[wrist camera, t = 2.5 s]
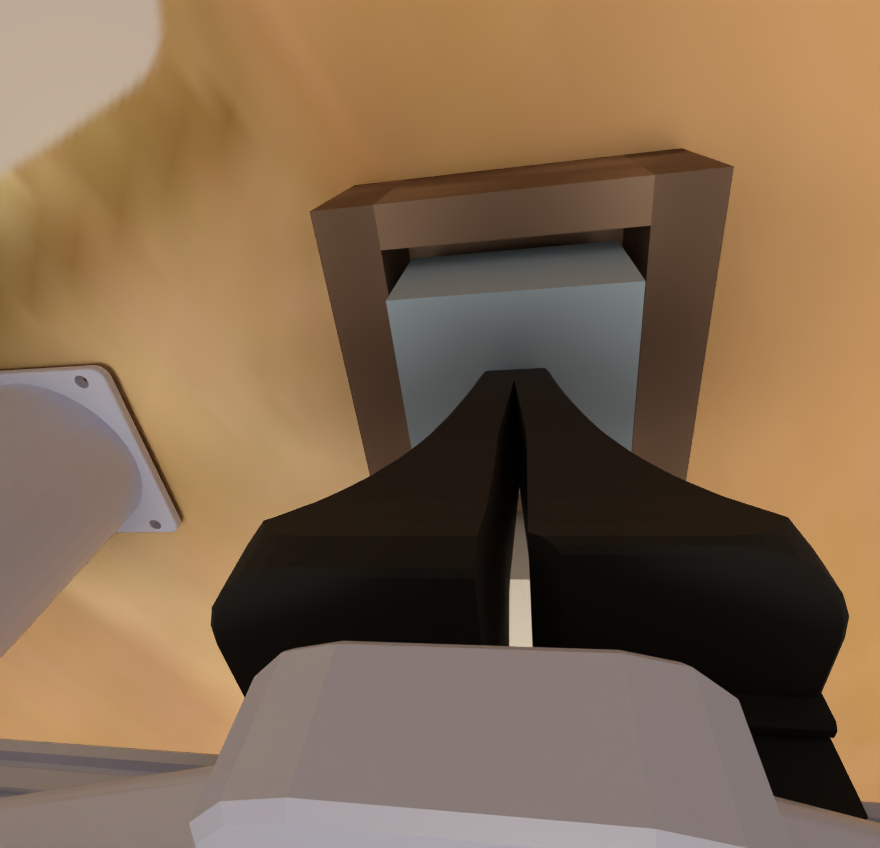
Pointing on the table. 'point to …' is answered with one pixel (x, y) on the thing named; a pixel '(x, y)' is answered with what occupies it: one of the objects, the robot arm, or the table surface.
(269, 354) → the table surface
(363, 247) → the brown wooden frame
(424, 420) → the blue key
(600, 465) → the robot arm
